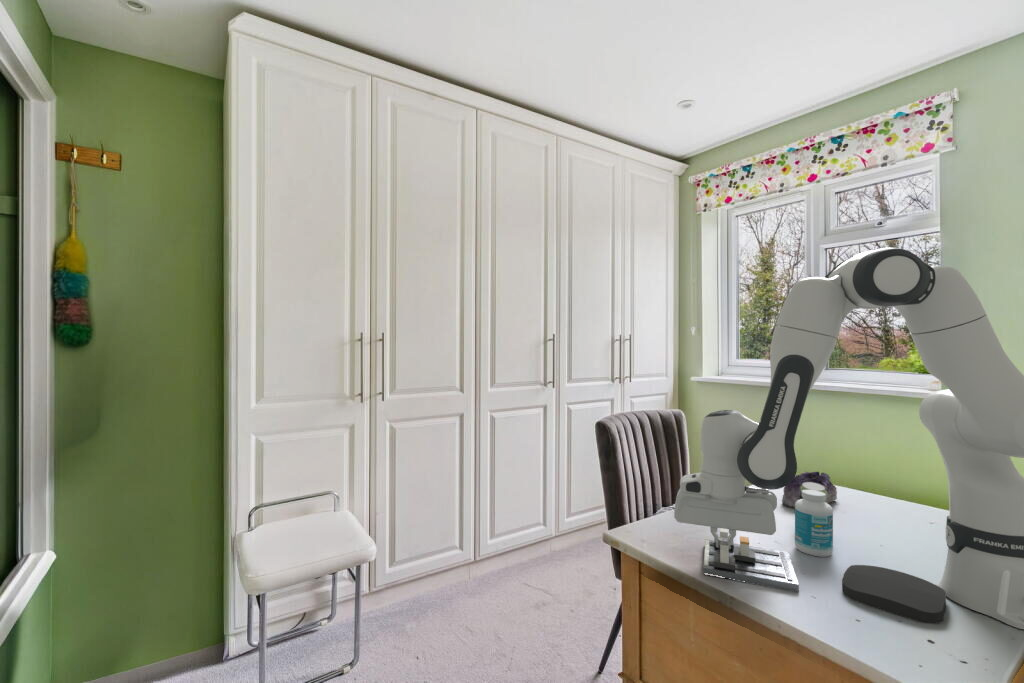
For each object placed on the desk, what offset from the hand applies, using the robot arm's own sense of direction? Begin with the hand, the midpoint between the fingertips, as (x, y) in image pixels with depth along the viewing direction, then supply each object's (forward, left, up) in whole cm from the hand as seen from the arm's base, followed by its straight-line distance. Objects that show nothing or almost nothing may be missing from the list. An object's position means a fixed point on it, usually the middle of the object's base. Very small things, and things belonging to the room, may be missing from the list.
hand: (723, 547), depth 102 cm
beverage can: (-21, -29, -4) cm, 36 cm away
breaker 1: (0, -5, -1) cm, 5 cm away
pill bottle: (-19, -15, -4) cm, 24 cm away
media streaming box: (-29, +2, -4) cm, 29 cm away
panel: (-5, 0, -3) cm, 6 cm away
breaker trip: (-4, 0, -1) cm, 4 cm away
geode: (-24, -54, -4) cm, 59 cm away
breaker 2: (0, +5, -1) cm, 5 cm away
